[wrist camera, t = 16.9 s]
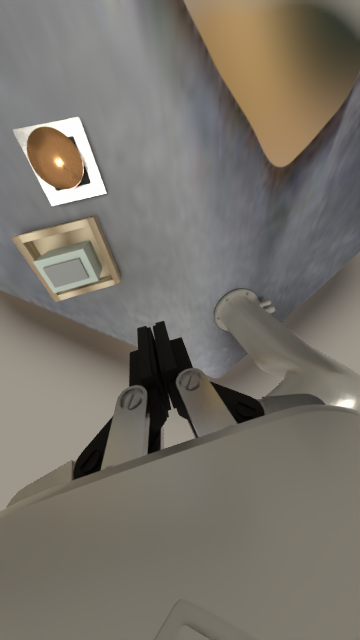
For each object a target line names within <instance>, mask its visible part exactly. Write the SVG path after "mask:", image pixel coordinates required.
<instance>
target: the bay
mask: <svg viewBox="0 0 360 640" xmlns="http://www.w3.org/2000/svg"><path fill="white" fill-rule="evenodd" d="M12 240H13V241H14V243H15V244H16V246H17V247H18V249H19V250H20V251H21V253H22V254H23V256H24V257H25V259H26V260H27V262H28V263H29V265H30V266H31V267H32V269H33V270H34V272H35V273H36V275H37V276H38V278H39V279H40V281H41V282H42V283H43V285H44V286H45V288H46V289H47V291H48V292H49V294H50V295H51V297H52V298H53V299H54V301H55V302H57V301H60V300H64V299H67V298H70V297H74V296H77V295H81V294H84V293H88V292H91V291H95V290H98V289H102V288H105V287H109V286H112V285H115V284H119V283H121V275H120V273H119V270H118V268H117V265H116V263H115V261H114V258H113V256H112V253H111V251H110V248H109V246H108V243H107V241H106V238H105V236H104V233H103V231H102V229H101V226H100V224H99V221H98V219H97V216H96V215H95V216H91V217H87V218H83V219H79V220H75V221H71V222H67V223H63V224H59V225H55V226H51V227H47V228H43V229H39V230H35V231H31V232H27V233H23V234H20V235H17V236H15V237H12ZM87 240H90V241H91V243H92V246H93V248H94V250H95V252H96V254H97V257H98V259H99V261H100V263H101V265H102V271H101V274H100V278H99V281H96V282H92V283H89V284H85V285H82V286H78V287H75V288H71V289H68V290H64V291H61V292H57V293H53V291H52V290H51V288H50V287H49V285H48V284H47V282H46V281H45V279H44V278H43V276H42V275H41V274H40V272H39V271H38V269H37V268H36V266H35V265H34V263H33V262H34V261H35V260H36V259H38V258H39V257H40V256H42V255H43V254H45V253H46V252H47V251H49V250H53V249H56V248H60V247H64V246H68V245H72V244H76V243H79V242H83V241H87Z"/></svg>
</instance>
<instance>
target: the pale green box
mask: <svg viewBox="0 0 360 640" xmlns="http://www.w3.org/2000/svg"><path fill="white" fill-rule="evenodd" d="M33 263H34V265H35V266H36V268H37V269H38V271H39V272H40V274H41V275H42V276H43V278H44V279H45V281H46V282H47V284H48V285H49V287H50V288H51V290H52V291H53V293H57V292H61V291H64V290H68V289H71V288H75V287H78V286H82V285H85V284H89V283H92V282H96V281H99V278H100V274H101V271H102V265H101V263H100V261H99V259H98V257H97V254H96V252H95V250H94V248H93V246H92V243H91V241H90V240H87V241H83V242H79V243H76V244H72V245H68V246H64V247H60V248H56V249H53V250H49V251H47V252H46V253H45V254H43V255H42V256H40V257H39V258H38V259H36V260H35V261H34V262H33Z"/></svg>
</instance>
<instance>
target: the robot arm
mask: <svg viewBox="0 0 360 640" xmlns="http://www.w3.org/2000/svg"><path fill="white" fill-rule="evenodd" d="M268 305H271V301H270V300H266V301H264V302H260V301H258V298H257V296H256V295H255V294H254V293H253V292H252V291H250V290H247V289H237V290H234V291H232V292H230V293H228V294H227V295H225V296H224V297H223V298H222V299H221V300H220V301H219V303H218V304H217V306H216V309H215V312H214V319H215V322H216V324H217V325H218V326H219V328H221V329H222V330H225V331H230V332H231V334H232V335H233V336H234V337H235V338H236V340H237V341H238V342H239V343H240V345H241V346H242V347H243V348H244V350H245V351H246V352H247V353H248V355H249V356H250V357H251V358H252V359H253V361H254V362H255V363H256V364H257V365H258V367H259V368H261V369H262V370H263V371H265V372H267V373H270V374H273V375H278V376H284V377H285V378H284V380H282V381H281V383H279V385H278V386H277V387H276V388H274V389H273V390H272V391H271V392H270V393H269V394H268V395H266V396H265V397H262V399H257V400H256V399H254V398H252V397H250V396H247V395H244V394H242V393H239V392H237V391H234V390H231V389H229V388H226V387H223V386H221V385H218V384H215V383H213V382H210V381H209V380H208V378H207V377H206V375H205V374H204V373H203V372H202V371H201V370H199V369H196V368H193V367H192V364H191V361H190V359H189V356H188V353H187V351H186V348H185V345H184V343H183V340H182V338H177V339H174V340H171V341H170V340H169V337H168V333H167V330H166V326H165V323H164V321H162V322H158V323H156V326H153V331H154V336H153V333H152V331H151V328H150V327H149V328H147V326H144V327H140V328H137V332H138V350H136V351H133V352H131V353H130V377H129V378H130V379H129V381H130V382H129V383H130V384H129V387H128V388H127V389H125V390H124V391H123V392H122V393H121V394H120V396H119V397H118V400H117V403H116V407H115V411H114V415H113V417H112V418H111V419H110V420H109V422H108V423H107V424H106V425H105V426H104V427H103V428H102V430H101V431H100V432H99V433H98V434H97V435H96V437H95V438H94V439H93V440H92V441H91V442H90V444H89V445H88V446H87V447H86V448H85V450H84V451H83V452H82V453H81V455H80V456H79V457H78V459H77V460H76V461H72V460H71V461H69V462H67V463H66V464H64V465H62V466H60V467H59V468H57V469H55V470H54V471H52V472H50V473H48V474H47V475H45V476H43V477H41V478H40V479H38V480H36V481H34V482H33V483H31V484H29V485H27V486H26V487H24V488H23V489H22V490H20V491H19V492H18V493H17V494H16V495H15V496H14V497H13V498H12V500H11V501H10V502H9V504H8V506H7V507H6V508H5V509H4V510H2V511H0V640H360V375H358V374H357V373H355V372H354V371H353V370H351V369H350V368H348V367H346V366H345V365H343V364H341V363H339V362H338V361H336V360H334V359H332V358H331V357H329V356H327V355H325V354H323V353H322V352H320V351H319V350H318V349H316V348H314V347H313V346H311V345H310V344H309V343H307V342H306V341H304V340H303V339H302V338H300V337H299V336H298V335H297V334H295V333H294V332H293V331H291V330H290V329H289V328H288V327H286V326H285V325H284V324H282V323H281V322H280V321H279V320H277V319H276V318H275V317H273V316H272V315H271V314H270V313H273V312H275V308H274V307H273V306H269V307H266V308H263V307H264V306H268ZM154 337H155V339H154ZM168 394H169V395H168ZM169 396H170V399H171V401H172V405H173V407H174V408H177V411H178V414H179V415H180V416H182V417H183V418H185V419H187V420H188V423H189V425H190V428H191V430H192V432H193V435H194V437H195V439H192V440H189V441H186V442H183V443H180V444H177V445H174V446H171V447H168V448H165V449H164V429H163V425H164V423H165V421H166V420H167V417H169V415H168V410H171V406H170V401H169Z"/></svg>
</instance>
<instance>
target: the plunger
mask: <svg viewBox="0 0 360 640" xmlns="http://www.w3.org/2000/svg"><path fill="white" fill-rule="evenodd" d="M27 155H28V158H29V161H30V163H31V165H32V167H33V169H34V170H35V172H36V173H37V174H38V176H39V177H40V178H41V179H42V180H44V181H45V182H46V183H48V184H49V185H51V186H53V187H55V188H59V189H72V188H74V187H76V186H77V185H78V184H79V183H80V182H81V180H82V179H83V176H84V166H83V161H82V157H81V155H80V153H79V151H78V149H77V148H76V146H75V145H74V143H73V142H72V141H71V140H70V139H69V138H68V137H67V136H66V135H65V134H63V133H62V132H60V131H59V130H57V129H55V128H52V127H45V126H44V127H39V128H36V129H35V130H33V131H32V132H31V134H30V135H29V137H28V140H27Z"/></svg>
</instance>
